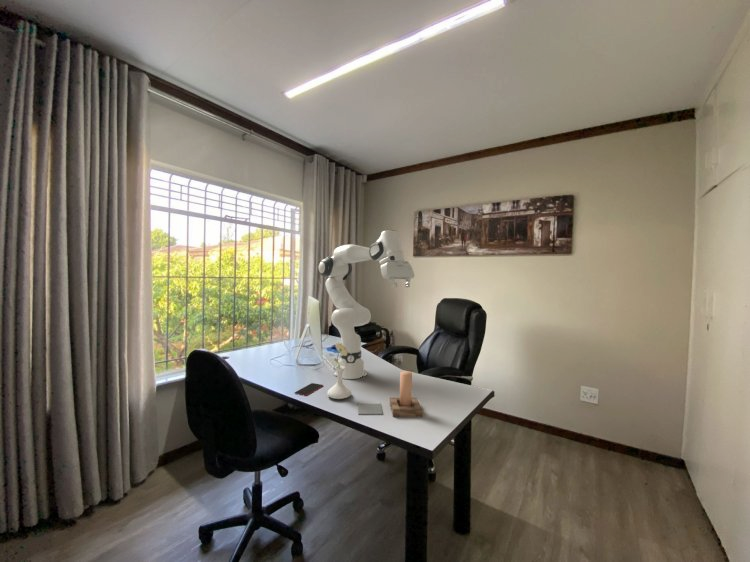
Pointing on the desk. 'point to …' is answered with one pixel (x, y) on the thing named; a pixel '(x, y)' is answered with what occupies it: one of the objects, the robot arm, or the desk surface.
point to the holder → (405, 408)
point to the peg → (405, 388)
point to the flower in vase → (339, 378)
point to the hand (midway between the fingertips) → (401, 287)
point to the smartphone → (309, 389)
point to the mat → (369, 409)
